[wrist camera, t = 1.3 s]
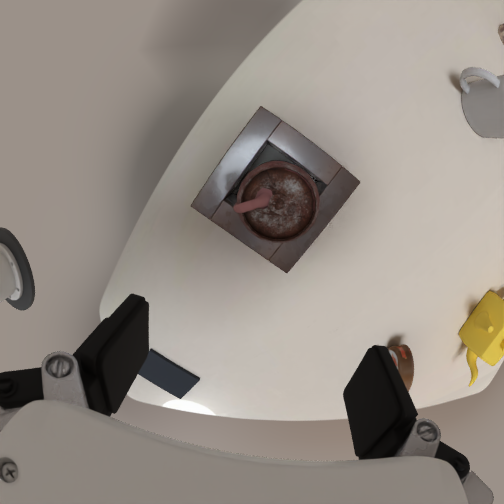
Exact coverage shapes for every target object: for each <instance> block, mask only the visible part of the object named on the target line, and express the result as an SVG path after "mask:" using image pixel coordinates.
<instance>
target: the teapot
mask: <svg viewBox="0 0 504 504" xmlns="http://www.w3.org/2000/svg"><path fill="white" fill-rule="evenodd" d="M459 335H460V338H461V340H462V341H463V343H464V344H465V345H466V346H467V347H468V350H467V354H466V357H467V362H468V365H469V367H470V370H471V375H472V376H471V381H470V384H469V387H470V386H471V385H472V384H473V383H474V382H475V380H476V378H477V376H478V369H477V366H476V359H477V357H480V358H481V359H482V360H483V361H485V362H486V363H488V364H489V365H491V366H494V365H495V364H496V363H497V362H498V361H499V360H500V359H501V358H502V357H503V355H504V299H503V300H502V299H501V298H500V297H499V296H498V295H497V294H496V293H494V292H491V291H489V292H487V294H486V295H485V296H484V297H483V299H482V300H481V301H480V303H479V304H478V305H477V307H476V308H475V309H474V311H473V312H472V314H471V315H470V317H469V318H468V320H467V321H466V322H465V324H464V325H463V327H462V328H461V330H460V332H459Z"/></svg>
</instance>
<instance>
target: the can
mask: <svg viewBox="0 0 504 504" xmlns="http://www.w3.org/2000/svg"><path fill="white" fill-rule="evenodd" d="M319 204H320V197H319V193H318V190H317V186H316V184H315V183H314V181H313V180H312V178H311V177H310V175H309V174H308V173H306V172H305V171H304V170H303V169H301V168H300V167H299V166H296V165H294V164H291V163H288V162H284V161H269V162H266V163H263V164H261V165H259V166H258V167H256V168H255V169H254V170H252V171H251V172H249V173H248V175H247V176H246V177H245V179H244V180H243V181H242V183H241V185H240V188H239V191H238V194H237V203H236V204H235V205H234V211H235V212H237V213H239V216H240V219H241V221H242V223H243V224H244V225H245V227H246V228H247V229H248V231H249V232H251V233H252V234H254V235H255V236H256V237H258V238H259V239H262V240H265V241H268V242H273V243H285V242H288V241H292V240H295V239H297V238H299V237H300V236H302V235H303V234H305V233H306V232H307V231H308V230H309V229H310V228H311V226H312V225H313V224H314V223H315V220H316V218H317V215H318V212H319Z"/></svg>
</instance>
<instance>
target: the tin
mask: <svg viewBox="0 0 504 504" xmlns="http://www.w3.org/2000/svg"><path fill="white" fill-rule="evenodd" d="M388 350H389V352H390V354H391V356H392V358H393V360H394V363H395V365H396V367H397V369H398V371H399V373H400V375H401V377H402V379H403V382H404V384H405V386H406V388H407V390H408V392H409V390H410V387H411V385H412V381H413V376H414V361H413V356H412V353H411V351H410V349H409V347H408V346H407V345H404V344H403V345H400V346H392V347H390V348H389V349H388Z"/></svg>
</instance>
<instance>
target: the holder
mask: <svg viewBox="0 0 504 504" xmlns="http://www.w3.org/2000/svg"><path fill="white" fill-rule="evenodd" d="M267 144H270V145H271V146H272V147H274V148H275V149H277V150H278V151H279V152H281V153H282V154H284V155H285V156H286V157H288V158H289V159H290V160H292V161H293V162H295V163H296V164H297V165H299V166H300V167H301V168H302V169H304V170H305V171H306V172H308V173H309V174H310V175H312V176H313V177H314V178H315V179H317V180H318V181H317V182H316V186H317V190H318V193H319V197H320V204H319V212H318V215H317V218H316V220H315V223H314V224H313V225H312V226H311V228H310V229H309V230H308V231H307V232H306V233H305V234H303V235H302V236H300V237H299V238H297V239H295V240H292V241H288V242H285V243H273V242H268V241H265V240H262V239H259V238H258V237H256V236H255V235H254V234H252V233H251V232H249V231H248V229H247V228H246V227H245V225H244V224H243V223H242V221H241V219H240V216H239V213H237V212H235V211H234V205H235V204H236V203H237V196H236V195H234V194H233V193H232V192H233V190H234V189H235V188H236V186H237V185H238V183H239V182H240V181H241V179H242V178H243V176H244V175H245V174H246V172H247V171H248V170H249V168H250V167H251V165H252V164H253V163H254V161H255V160H256V159H257V157H258V156H259V155H260V153H261V152H262V150H263V149H264V148H265V146H266V145H267ZM359 184H360V181H359V180H358V179H357V178H356V177H354V176H353V175H352V174H351V173H350V172H349V171H347V170H346V169H345V168H344V167H342V165H340V164H339V163H338V162H337V161H335V160H334V159H333V158H332V157H331V156H329V155H328V154H327V153H326V152H324V151H323V150H322V149H321V148H319V147H318V146H317V145H315V144H314V143H313V142H311V141H310V140H309V139H307V138H306V137H305V136H303V135H302V134H301V133H299V132H298V131H297V130H295V129H294V128H292V127H291V126H290V125H288V124H287V123H285V122H284V121H282V120H281V119H280V118H278V117H277V116H275V115H274V114H272V113H271V112H269V111H268V110H266V109H265V108H263V107H262V106H260V108H259V109H258V110H257V111H256V113H255V114H254V115H253V117H252V118H251V119H250V121H249V122H248V123H247V125H246V126H245V127H244V129H243V130H242V131H241V133H240V134H239V135H238V137H237V138H236V140H235V141H234V142H233V144H232V145H231V147H230V148H229V149H228V151H227V152H226V154H225V155H224V156H223V158H222V159H221V161H220V162H219V164H218V165H217V167H216V168H215V169H214V171H213V172H212V174H211V175H210V177H209V178H208V180H207V181H206V183H205V184H204V186H203V187H202V189H201V190H200V192H199V193H198V195H197V197H196V198H195V200H194V201H193V203H192V204H191V207H193V208H194V209H195V210H197V211H198V212H200V213H201V214H203V215H204V216H205V217H207V218H208V219H210V220H211V221H213V222H214V223H215V224H217V225H218V226H220V227H221V228H223V229H224V230H225V231H227V232H228V233H230V234H231V235H233V236H234V237H235V238H237V239H238V240H240V241H241V242H243V243H244V244H245V245H247V246H248V247H250V248H251V249H253V250H254V251H255V252H257V253H258V254H260V255H261V256H263V257H264V258H265V259H267V260H269V261H270V262H271V263H273V264H274V265H275V266H277V267H278V268H280V269H281V270H283V271H284V272H285V273H288V272H289V271H290V269H291V268H292V267H293V266H294V265H295V263H296V262H297V261H298V260H299V259H300V257H301V256H302V255H303V254H304V253H305V251H306V250H307V249H308V248H309V247H310V245H311V244H312V243H313V242H314V240H315V239H316V238H317V237H318V236H319V234H320V233H321V232H322V231H323V229H324V228H325V227H326V226H327V224H328V223H329V222H330V221H331V219H332V218H333V217H334V216H335V214H336V213H337V212H338V211H339V209H340V208H341V207H342V205H343V204H344V203H345V202H346V200H347V199H348V198H349V197H350V195H351V194H352V193H353V191H354V190H355V189H356V187H357V186H358V185H359Z"/></svg>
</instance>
